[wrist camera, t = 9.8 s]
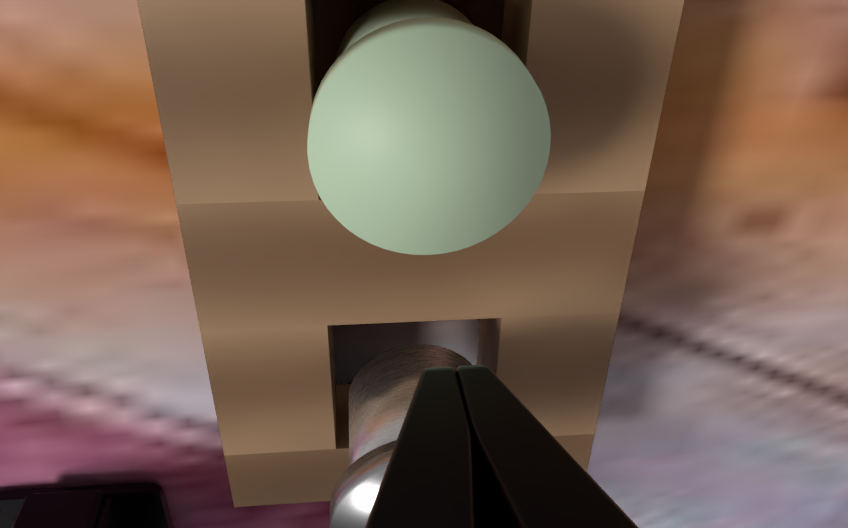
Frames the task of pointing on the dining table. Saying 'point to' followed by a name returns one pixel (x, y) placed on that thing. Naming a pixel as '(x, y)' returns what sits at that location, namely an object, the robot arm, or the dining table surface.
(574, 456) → the walnut board
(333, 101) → the sage plug
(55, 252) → the dining table surface
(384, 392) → the plunger
